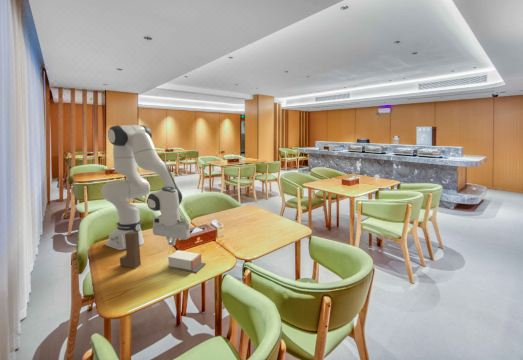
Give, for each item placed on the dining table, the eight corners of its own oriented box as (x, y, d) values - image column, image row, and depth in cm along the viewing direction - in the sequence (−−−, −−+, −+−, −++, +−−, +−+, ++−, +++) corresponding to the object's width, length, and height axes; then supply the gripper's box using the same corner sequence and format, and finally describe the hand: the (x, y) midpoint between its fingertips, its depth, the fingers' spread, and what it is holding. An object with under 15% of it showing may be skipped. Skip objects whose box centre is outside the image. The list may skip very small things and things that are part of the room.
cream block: (168, 256, 138) (192, 261, 134) (177, 250, 146) (201, 254, 141) (168, 265, 139) (193, 270, 135) (178, 258, 146) (201, 263, 142)
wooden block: (120, 266, 139) (117, 232, 136) (126, 262, 144) (123, 229, 140) (135, 268, 137) (132, 234, 133) (141, 264, 141) (138, 231, 138)
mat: (170, 267, 138) (170, 266, 138) (180, 259, 147) (180, 258, 147) (196, 273, 134) (196, 271, 134) (205, 264, 142) (205, 263, 142)
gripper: (192, 219, 138) (193, 245, 141) (158, 215, 144) (159, 239, 147) (185, 223, 132) (186, 250, 135) (149, 218, 138) (151, 244, 141)
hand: (172, 244), depth 141 cm, fingers closed
